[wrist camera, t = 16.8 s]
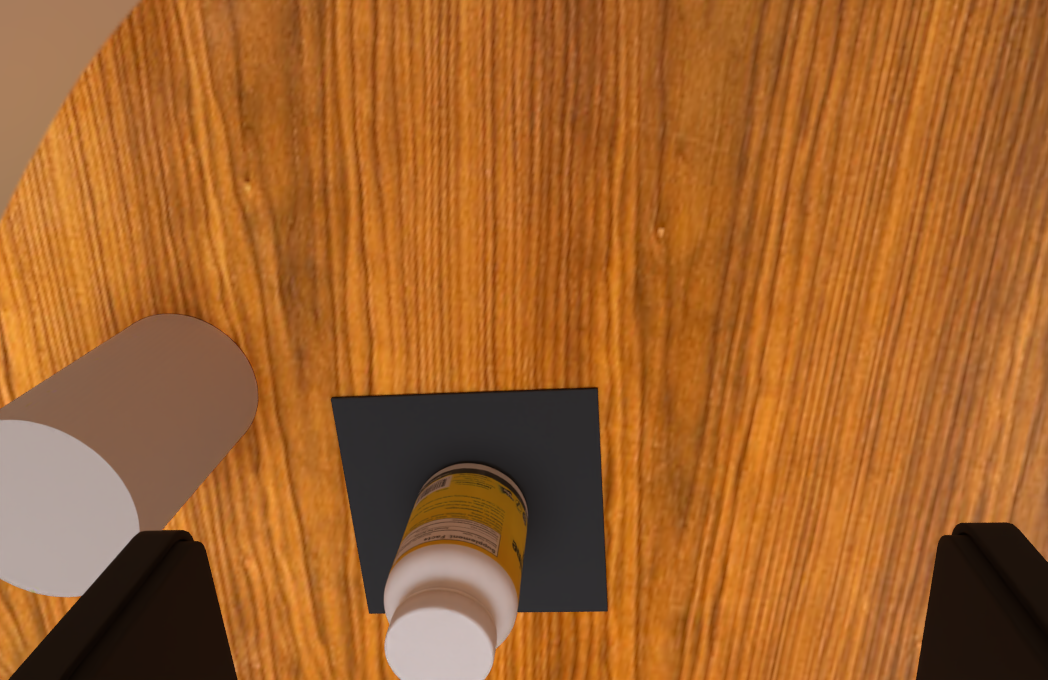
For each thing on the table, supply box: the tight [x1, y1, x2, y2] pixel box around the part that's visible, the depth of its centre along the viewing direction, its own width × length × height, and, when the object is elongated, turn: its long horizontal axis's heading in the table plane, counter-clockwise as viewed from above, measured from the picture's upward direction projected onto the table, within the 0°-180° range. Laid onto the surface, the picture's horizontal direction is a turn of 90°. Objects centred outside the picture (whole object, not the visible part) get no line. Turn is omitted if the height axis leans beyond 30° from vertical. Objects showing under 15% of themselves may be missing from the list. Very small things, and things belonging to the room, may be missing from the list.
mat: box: [331, 388, 608, 614], centre depth 43 cm, size 14×14×1 cm
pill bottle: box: [384, 463, 528, 680], centre depth 38 cm, size 6×6×11 cm
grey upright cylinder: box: [0, 314, 258, 597], centre depth 37 cm, size 8×8×12 cm
